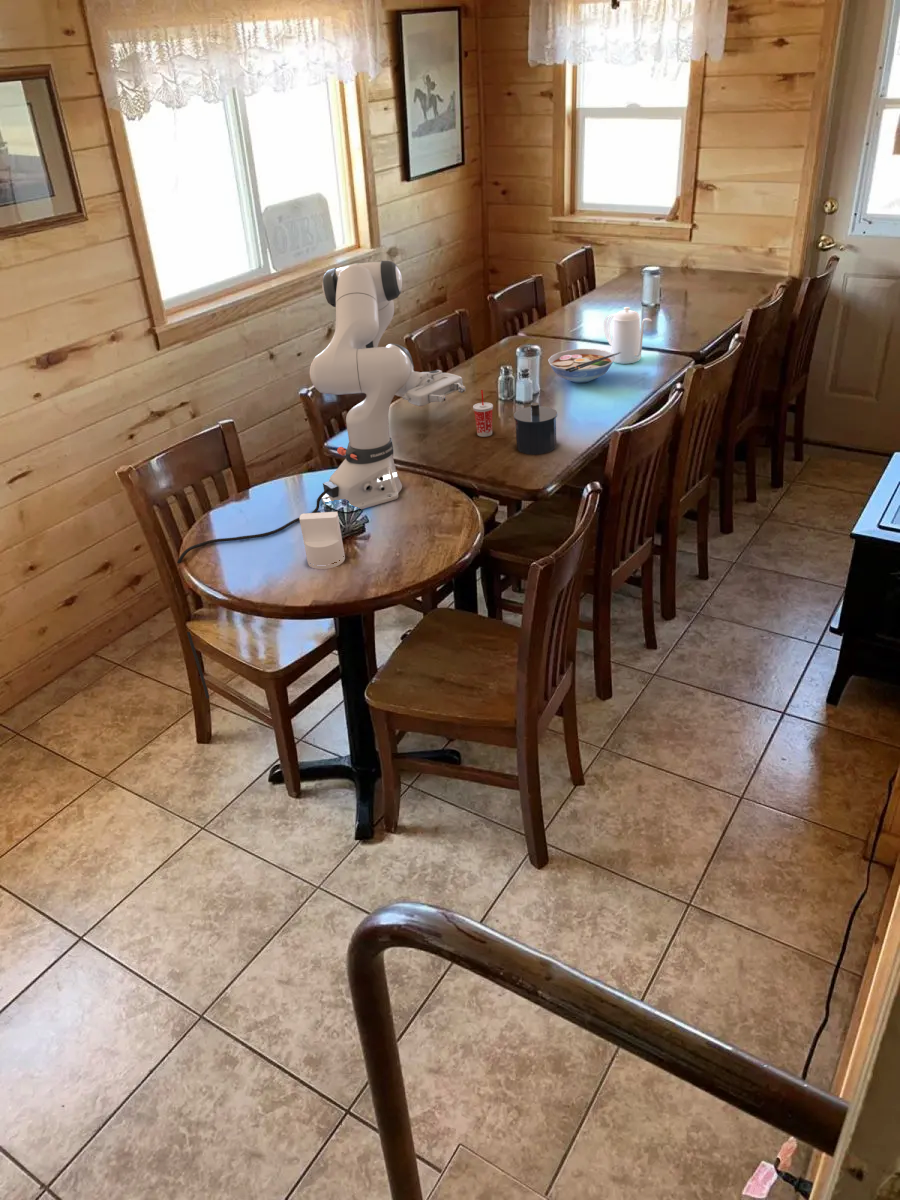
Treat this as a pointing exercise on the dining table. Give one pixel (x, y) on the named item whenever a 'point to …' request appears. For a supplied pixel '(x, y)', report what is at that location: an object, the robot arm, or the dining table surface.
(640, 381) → the dining table surface
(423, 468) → the dining table surface
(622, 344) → the coffeepot
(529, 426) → the pot
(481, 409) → the beverage cup
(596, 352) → the ramen bowl
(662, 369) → the dining table surface
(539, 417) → the pot lid
